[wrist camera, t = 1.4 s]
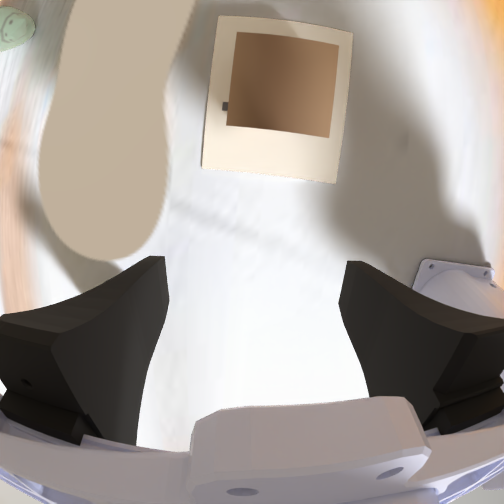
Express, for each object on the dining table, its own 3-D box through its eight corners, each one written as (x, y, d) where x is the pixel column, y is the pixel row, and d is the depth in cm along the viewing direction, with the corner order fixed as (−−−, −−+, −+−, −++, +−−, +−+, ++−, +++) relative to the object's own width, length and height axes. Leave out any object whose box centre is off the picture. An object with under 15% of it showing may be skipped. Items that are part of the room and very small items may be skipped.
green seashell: (65, 22, 14) (13, 5, 8) (42, 65, 16) (-14, 60, 10) (20, 10, 13) (-27, -1, 7) (1, 47, 14) (-48, 44, 8)
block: (321, 64, 16) (338, 45, 11) (312, 135, 18) (329, 138, 13) (243, 54, 16) (236, 31, 11) (235, 126, 18) (225, 125, 13)
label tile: (352, 33, 15) (353, 33, 15) (334, 183, 19) (335, 184, 19) (219, 16, 15) (218, 15, 15) (202, 168, 19) (201, 168, 19)
